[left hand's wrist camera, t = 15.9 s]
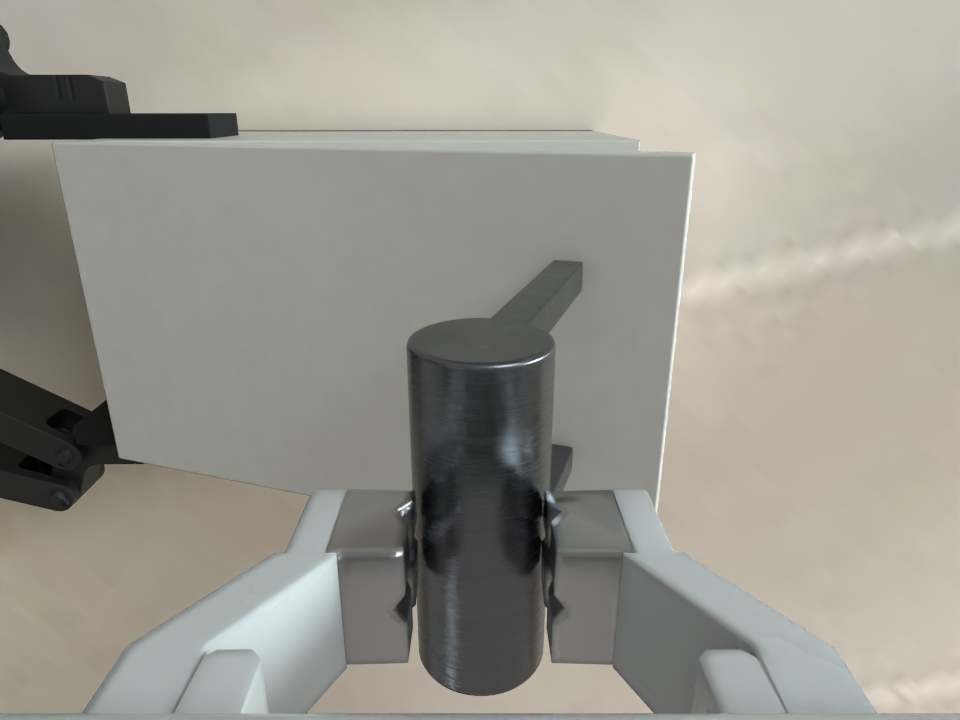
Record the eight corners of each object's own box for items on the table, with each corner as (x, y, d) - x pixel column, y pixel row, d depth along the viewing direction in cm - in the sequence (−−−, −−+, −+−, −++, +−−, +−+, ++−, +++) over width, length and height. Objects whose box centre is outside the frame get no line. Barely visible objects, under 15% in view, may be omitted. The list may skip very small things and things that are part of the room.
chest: (590, 129, 29) (641, 139, 20) (577, 352, 32) (617, 442, 24) (194, 130, 28) (73, 140, 20) (226, 354, 32) (135, 445, 23)
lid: (696, 152, 15) (670, 197, 7) (654, 543, 18) (608, 840, 11) (77, 140, 20) (-303, 160, 12) (139, 446, 23) (-128, 601, 16)
